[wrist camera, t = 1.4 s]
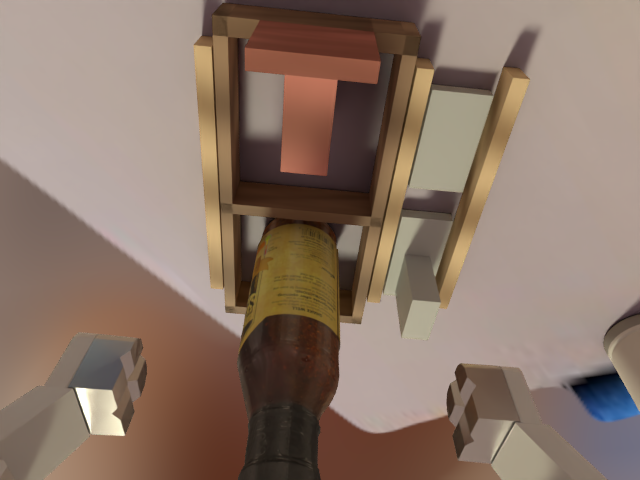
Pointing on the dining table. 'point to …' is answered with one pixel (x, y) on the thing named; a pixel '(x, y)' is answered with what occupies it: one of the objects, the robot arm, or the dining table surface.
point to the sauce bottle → (290, 349)
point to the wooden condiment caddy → (307, 125)
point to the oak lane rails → (472, 198)
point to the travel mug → (626, 353)
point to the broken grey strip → (431, 227)
